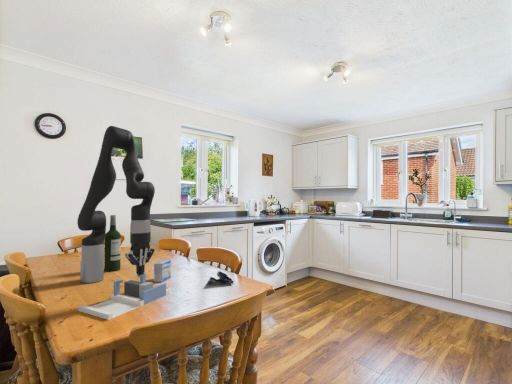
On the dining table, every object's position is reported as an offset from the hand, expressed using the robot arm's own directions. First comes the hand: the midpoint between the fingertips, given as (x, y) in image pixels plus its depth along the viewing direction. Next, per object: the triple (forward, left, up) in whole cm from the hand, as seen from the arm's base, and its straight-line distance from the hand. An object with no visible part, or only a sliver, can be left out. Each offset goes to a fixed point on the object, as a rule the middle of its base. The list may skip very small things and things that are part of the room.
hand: (140, 274), depth 110 cm
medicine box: (-10, +21, -9) cm, 25 cm away
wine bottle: (-48, +22, -9) cm, 53 cm away
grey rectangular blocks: (-1, 0, -9) cm, 9 cm away
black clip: (+19, +29, -10) cm, 36 cm away
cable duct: (0, -6, -9) cm, 11 cm away
